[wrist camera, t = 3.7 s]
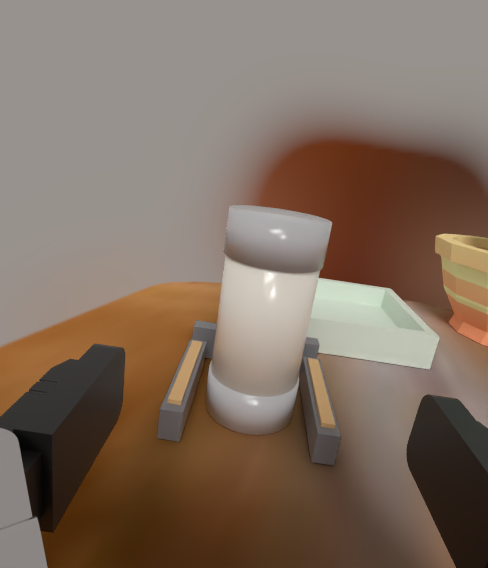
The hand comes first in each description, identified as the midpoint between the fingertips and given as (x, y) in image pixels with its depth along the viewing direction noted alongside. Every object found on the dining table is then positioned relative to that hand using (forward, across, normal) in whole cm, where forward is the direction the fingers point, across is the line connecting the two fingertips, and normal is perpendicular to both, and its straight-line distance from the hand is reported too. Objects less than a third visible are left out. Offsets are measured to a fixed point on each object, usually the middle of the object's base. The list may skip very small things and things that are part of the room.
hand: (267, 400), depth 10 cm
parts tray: (+22, -5, +6) cm, 23 cm away
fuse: (+8, 0, +6) cm, 10 cm away
